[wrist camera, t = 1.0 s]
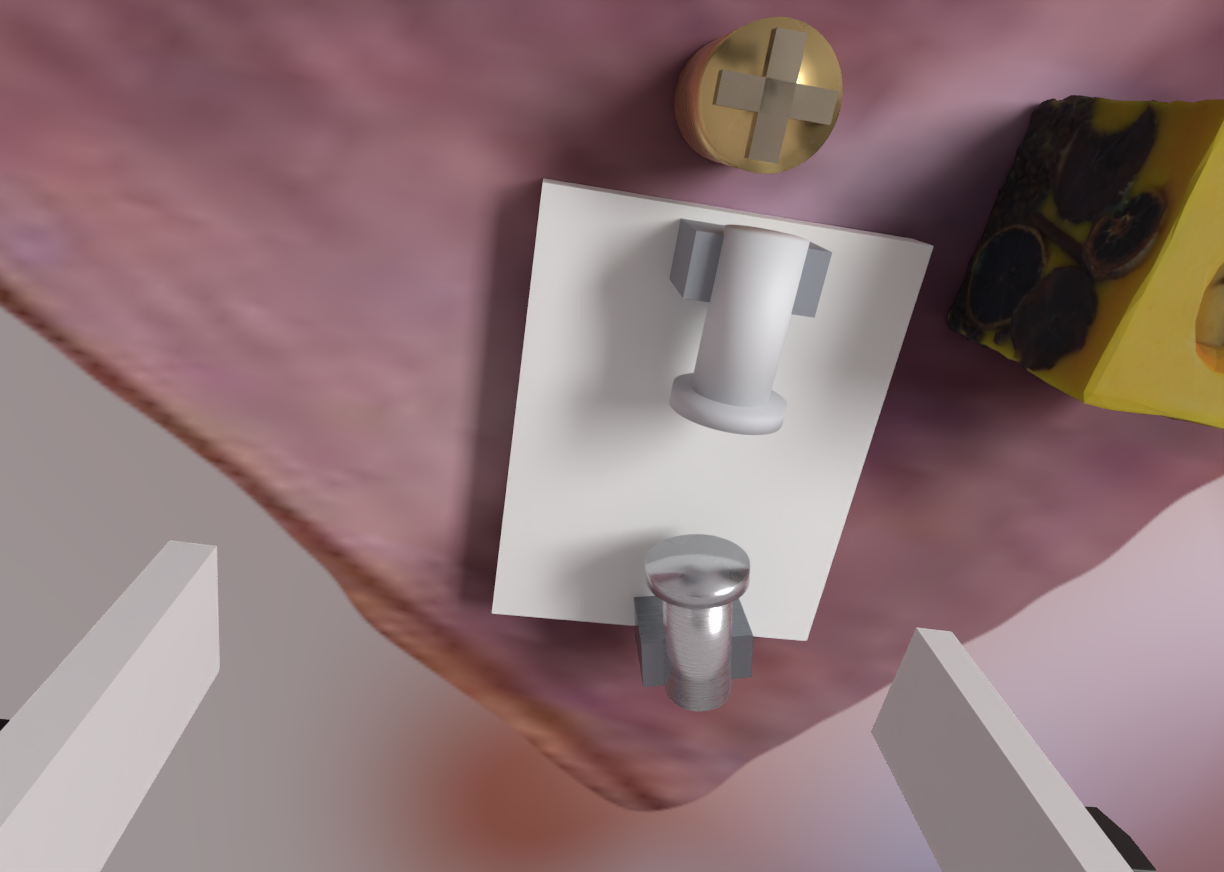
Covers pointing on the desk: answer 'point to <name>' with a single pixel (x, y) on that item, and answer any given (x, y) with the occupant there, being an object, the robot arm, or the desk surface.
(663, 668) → the shaft out
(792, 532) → the shaft base
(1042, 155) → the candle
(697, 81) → the coupler
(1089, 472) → the desk surface
